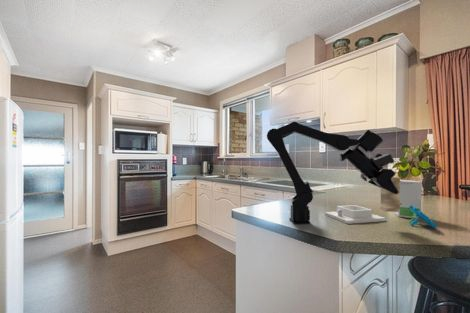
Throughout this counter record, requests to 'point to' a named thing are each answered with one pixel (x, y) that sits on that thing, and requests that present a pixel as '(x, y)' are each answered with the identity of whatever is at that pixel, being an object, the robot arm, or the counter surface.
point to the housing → (354, 214)
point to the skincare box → (409, 197)
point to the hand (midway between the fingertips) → (394, 192)
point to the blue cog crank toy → (420, 217)
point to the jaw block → (391, 197)
